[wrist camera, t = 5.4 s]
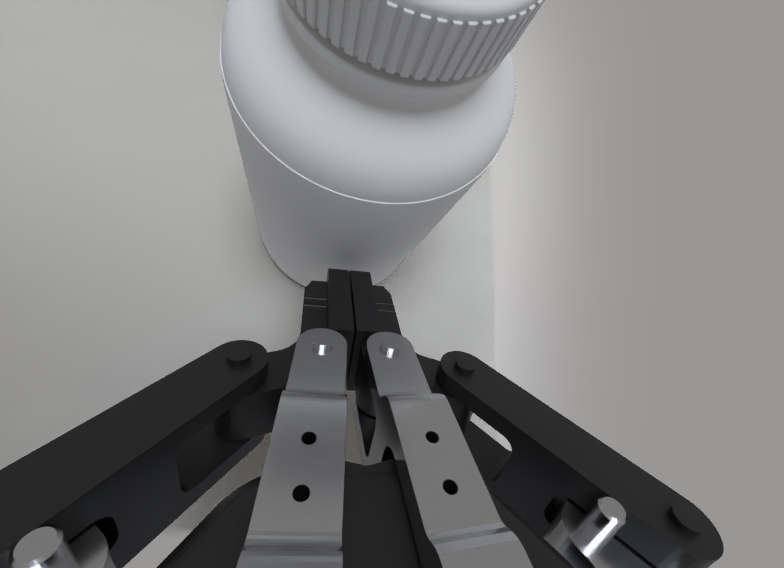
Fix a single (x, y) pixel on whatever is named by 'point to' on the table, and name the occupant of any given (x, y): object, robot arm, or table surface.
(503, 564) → the robot arm
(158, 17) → the table surface
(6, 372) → the table surface
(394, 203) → the pill bottle
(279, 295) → the table surface
